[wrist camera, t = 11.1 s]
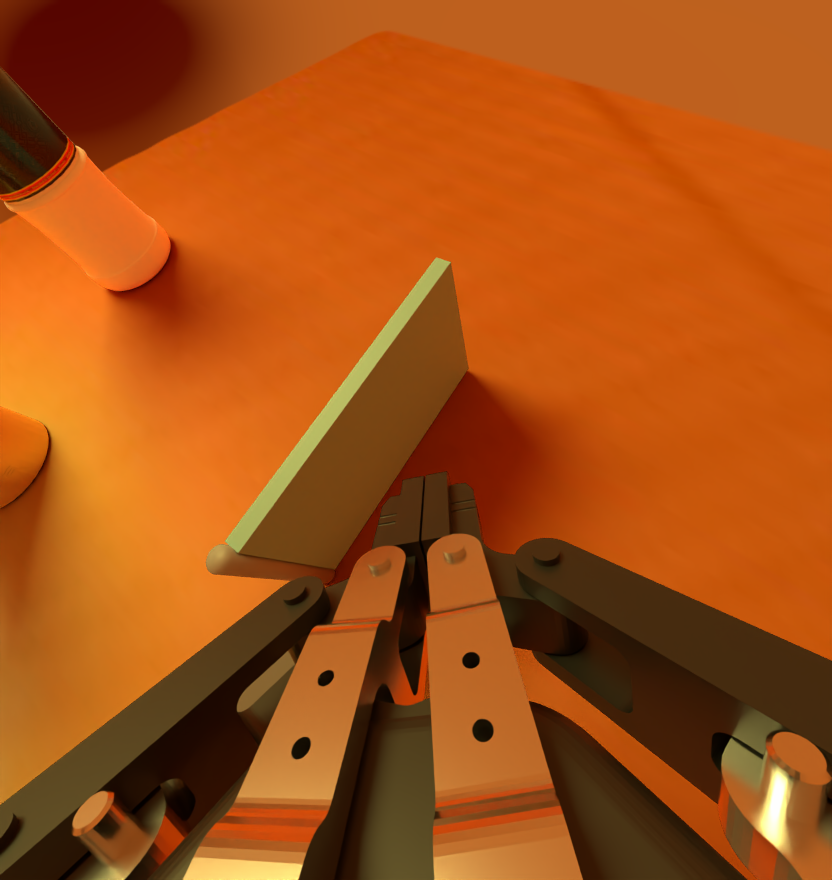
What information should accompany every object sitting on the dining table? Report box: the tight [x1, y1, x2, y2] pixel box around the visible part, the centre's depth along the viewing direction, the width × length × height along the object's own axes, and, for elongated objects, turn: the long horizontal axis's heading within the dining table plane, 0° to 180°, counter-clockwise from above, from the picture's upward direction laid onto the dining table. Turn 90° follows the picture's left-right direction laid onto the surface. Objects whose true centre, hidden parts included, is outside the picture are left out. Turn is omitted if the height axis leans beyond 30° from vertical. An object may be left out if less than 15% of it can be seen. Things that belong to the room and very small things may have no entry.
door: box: [206, 258, 468, 583], centre depth 22 cm, size 18×1×10 cm, turn 147°
